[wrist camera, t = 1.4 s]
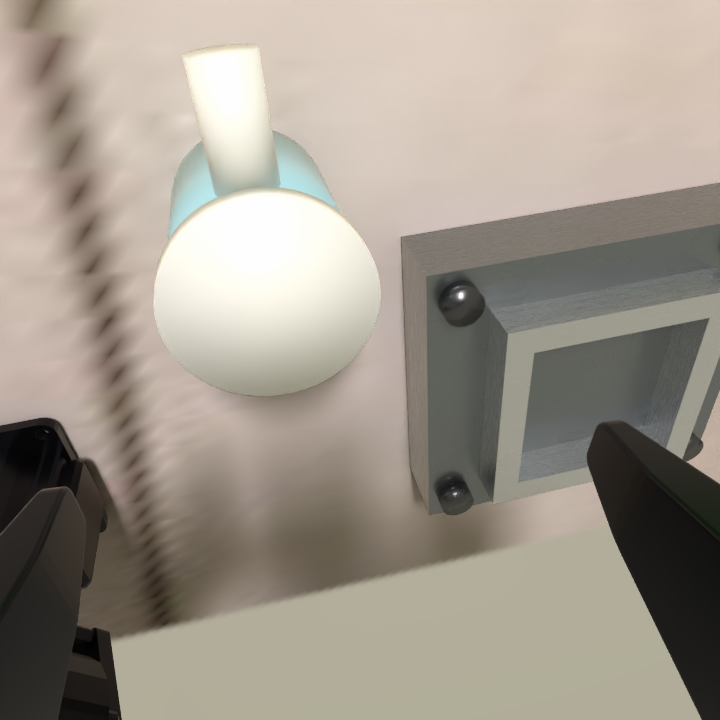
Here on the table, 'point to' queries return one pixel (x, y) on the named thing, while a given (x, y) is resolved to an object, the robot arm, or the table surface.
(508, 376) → the grey metal socket plate
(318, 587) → the table surface
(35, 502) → the robot arm
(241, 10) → the table surface
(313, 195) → the pump canister
